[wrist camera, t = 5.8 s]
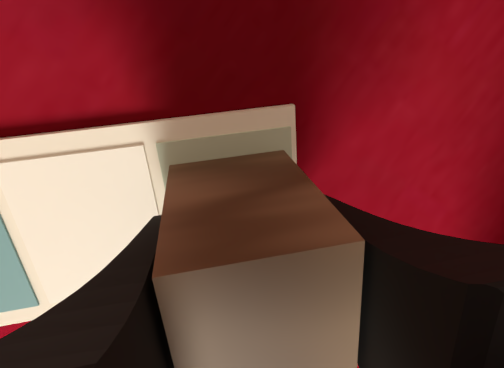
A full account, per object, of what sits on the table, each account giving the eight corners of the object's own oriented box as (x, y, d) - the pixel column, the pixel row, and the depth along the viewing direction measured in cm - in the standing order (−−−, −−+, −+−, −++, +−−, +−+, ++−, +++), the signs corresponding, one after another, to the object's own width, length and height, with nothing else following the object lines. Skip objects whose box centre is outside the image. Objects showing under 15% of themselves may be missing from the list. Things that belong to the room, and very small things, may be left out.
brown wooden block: (283, 149, 12) (364, 240, 6) (287, 244, 13) (356, 381, 8) (169, 165, 11) (152, 278, 6) (187, 261, 13) (187, 421, 7)
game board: (292, 103, 12) (295, 105, 11) (297, 266, 14) (300, 272, 14) (-205, 161, 10) (-219, 166, 9) (-87, 336, 13) (-95, 345, 12)
